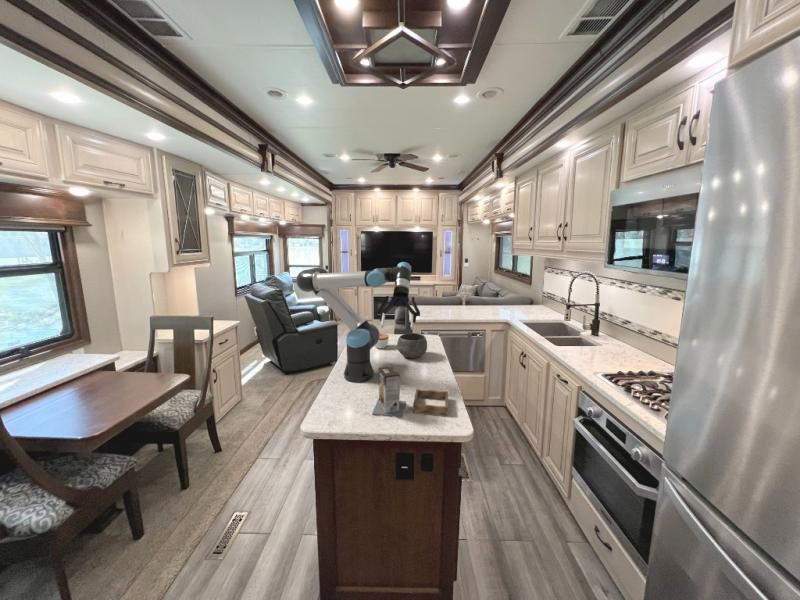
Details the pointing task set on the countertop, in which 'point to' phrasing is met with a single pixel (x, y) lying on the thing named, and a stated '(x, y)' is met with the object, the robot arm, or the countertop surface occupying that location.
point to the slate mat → (379, 411)
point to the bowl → (412, 345)
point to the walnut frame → (431, 408)
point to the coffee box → (389, 389)
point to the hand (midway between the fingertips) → (396, 327)
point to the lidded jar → (382, 341)
